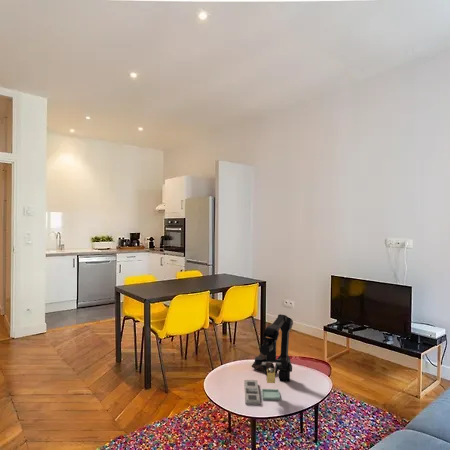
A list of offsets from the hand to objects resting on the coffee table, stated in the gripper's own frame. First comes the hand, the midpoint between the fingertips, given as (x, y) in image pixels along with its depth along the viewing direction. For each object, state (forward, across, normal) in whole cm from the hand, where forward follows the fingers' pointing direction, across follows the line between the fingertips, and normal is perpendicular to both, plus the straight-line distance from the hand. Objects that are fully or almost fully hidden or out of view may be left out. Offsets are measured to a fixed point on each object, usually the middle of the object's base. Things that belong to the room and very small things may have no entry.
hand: (270, 375), depth 208 cm
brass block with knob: (+3, 0, 0) cm, 3 cm away
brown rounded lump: (+12, +1, -37) cm, 39 cm away
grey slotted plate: (+12, +11, -2) cm, 16 cm away
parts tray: (+12, 0, 0) cm, 12 cm away
